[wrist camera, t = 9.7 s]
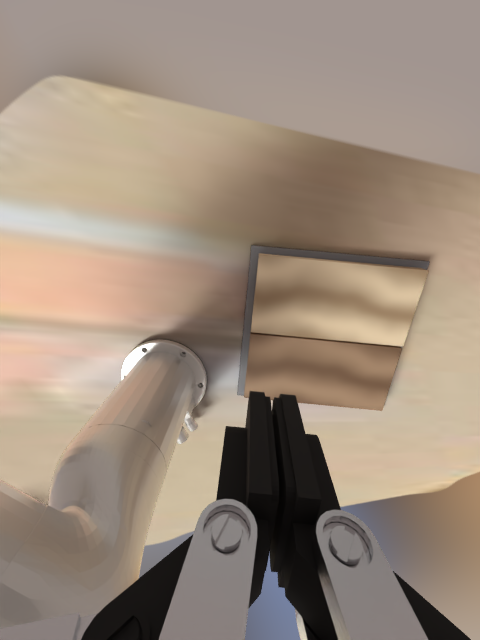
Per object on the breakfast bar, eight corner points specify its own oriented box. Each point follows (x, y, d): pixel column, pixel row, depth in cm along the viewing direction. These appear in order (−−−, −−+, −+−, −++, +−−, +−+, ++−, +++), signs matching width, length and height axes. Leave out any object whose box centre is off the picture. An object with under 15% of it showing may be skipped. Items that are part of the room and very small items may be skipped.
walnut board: (377, 403, 41) (382, 410, 39) (244, 390, 41) (243, 397, 39) (396, 343, 37) (402, 348, 36) (250, 329, 38) (250, 333, 36)
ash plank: (397, 341, 37) (403, 346, 36) (251, 327, 37) (250, 332, 36) (421, 268, 33) (428, 270, 32) (259, 253, 34) (259, 255, 32)
